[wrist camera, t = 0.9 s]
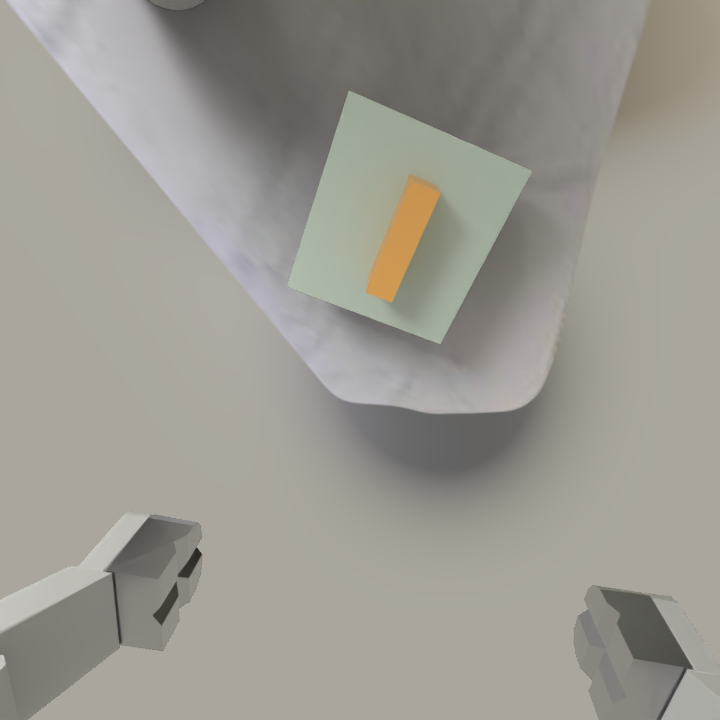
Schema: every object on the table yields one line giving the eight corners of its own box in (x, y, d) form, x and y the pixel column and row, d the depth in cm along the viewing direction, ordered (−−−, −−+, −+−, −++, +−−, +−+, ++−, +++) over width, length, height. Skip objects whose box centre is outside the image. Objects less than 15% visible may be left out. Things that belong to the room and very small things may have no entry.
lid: (352, 91, 32) (343, 88, 27) (521, 165, 34) (547, 178, 29) (293, 274, 39) (277, 303, 34) (437, 328, 41) (444, 365, 35)
